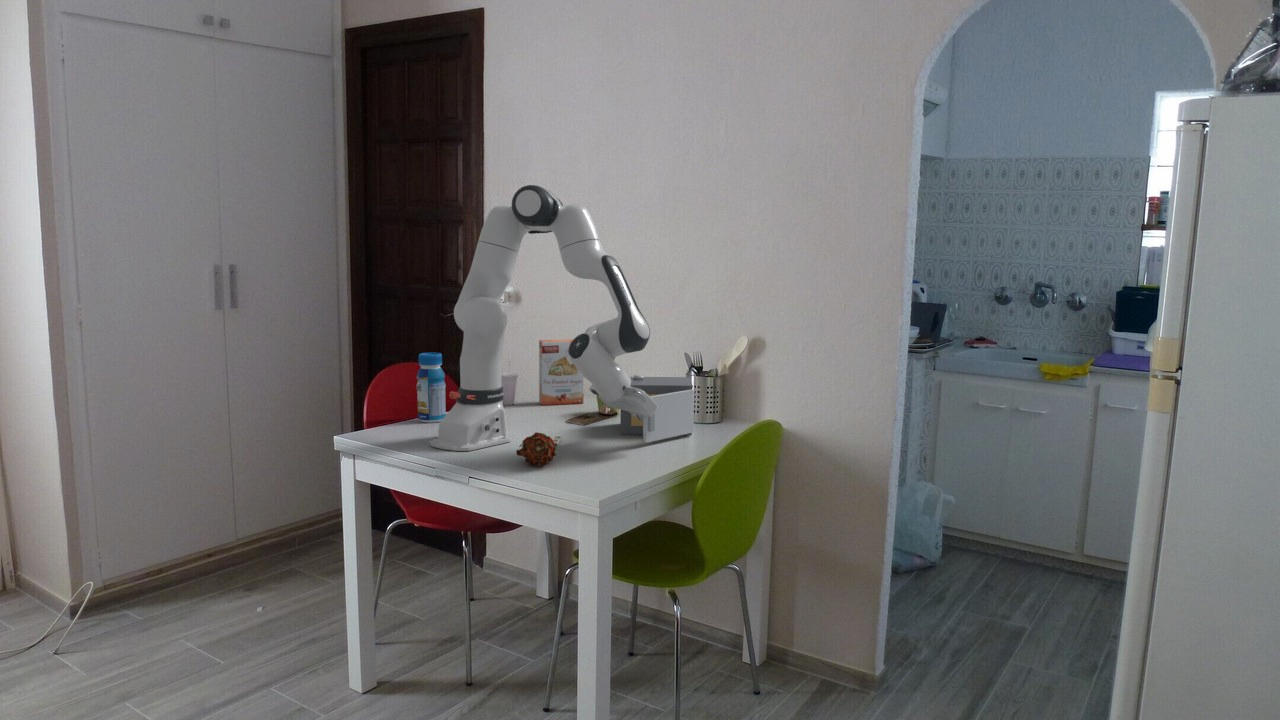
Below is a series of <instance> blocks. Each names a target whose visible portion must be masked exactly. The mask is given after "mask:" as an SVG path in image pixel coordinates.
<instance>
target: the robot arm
mask: <svg viewBox="0 0 1280 720" xmlns="http://www.w3.org/2000/svg"><path fill="white" fill-rule="evenodd" d="M527 233H528V234H530V235H533V234H548V233H553V235H554V237H555V238H556V241H557V245H558V248H559V253H560V257H561V261H562V264H563V266H564V268H565V270H566V271H567V272H568V273H569V274H570V275H572V276H574V277H576V278H579V279H584V280H594V281H598V282H601V283H603V284H604V286H605V287H606V288H607V290H608V292H609V295H610V297H611V299H612V302H613V303H614V306H615V309H616V311H617V317H615V318H611V319H608V320H606V321H602V322H598V323H596V324H593V325H591V326H590V327H588V328H587V329H586V330H585V332H584V333H580V334H578V335H577V336H576V337H574V338H573V339H574V340H573V341H572V342H571V344H570V346H569V349H568V354H569V357H570V359H571V361H572V362H573V364H574V366H575V367H576V368H577V369H578V371H579V372H580V373H581V374H582V375H583V377H584V379H586V380H587V381H589V383H590V384H591V385H590V386H589V389H588V390H589V391H590V392H591V394H593V395H597V396H598V397H599V398H600V399H601V400H602V401H603V402H604V403H605V404H606V405H608V406H610V407H613V408H617V409H619V410H620V411H621V410H625V411H628V412H629V413H631V414H632V415H634V416H635V417H636V418H637V419H638V420H642V421H643V415H644V416H648V417H651V416H652V415H653V414H654V413H655V412H656V410H657V409H658V406H657V404H656V403H655V402H654V401H653V400H652V399H651V398H650V397H649V396H648V395H647V394H646V393H645V392H644V391H643V390H641V389H638V388H633V387H631V386H630V385H631V379H630V377H631V376H629V375H628V373H627V372H625V370H624V369H623V368H622V367H621V366H620V364H618V363H616V361H615V359H616V357H619V356H622V355H625V354H631V353H636V352H640V351H643V350H644V349H645V348H646V347H647V344H648V342H649V340H650V336H651V328H650V326H649V324H648V322H647V320H646V318H645V317H644V315H643V314H642V312H641V310H640V308H639V306H638V304H637V301H636V299H635V297H634V295H633V292H632V290H631V288H630V285H629V283H628V281H627V279H626V276H625V273H624V272H623V269H622V268H621V266H620V264H619V262H618V261H617V259H616V258H615V257H614V256H612V255H608V254H607V252H606V251H605V249H604V247H603V245H602V242H601V239H600V235H599V232H598V230H597V227H596V224H595V222H594V220H593V217H592V215H591V213H590V211H589V210H588V208H587V207H585V206H584V205H581V204H577V203H572V204H567V205H564V204H563V203H562V201H561V200H560V199H559V198H558V197H557V196H556V195H555V194H554V193H553V192H552V191H550V190H548V189H546V188H543V187H542V186H539V185H535V184H528V185H524V186H521V187H520V188H518V189H517V191H516V192H515V193H514V195H513V197H512V200H511V206H508V205H497V206H494V207H493V208H492V209H491V210H489V213H488V215H487V216H486V219H485V220H484V223H483V226H482V228H481V231H480V234H479V237H478V241H477V244H476V248H475V252H474V255H473V259H472V263H471V267H470V268H469V269H470V270H469V271H468V272H469V273H468V275H467V277H466V280H465V281H464V284H463V286H462V289H461V291H460V294H459V296H458V300H457V302H456V304H455V306H454V309H453V318H454V321H455V323H456V325H457V327H458V328H459V329H460V330H461V331H462V332H463V340H462V349H461V352H460V357H459V375H460V376H459V377H460V378H459V379H460V387H459V388H458V390H457V391H454V390H452V391H450V392H449V398H450V399H452V400H455V402H456V403H455V404H454V405H453V406H452V407H451V409H450V410H449V411H448V413H446V416H445V417H444V418H443V419H442V420H441V422H439V424H438V425H439V426H438V436H437V437H436V438H434V439H432V440H430V441H429V446H431V447H433V448H437V449H440V450H446V451H447V450H448V451H454V452H457V451H458V452H469V451H475V450H479V449H484V448H488V447H492V446H497V445H501V444H505V443H510V442H511V437H510V436H509V433H508V426H507V425H508V424H507V416H506V410H505V408H504V404H503V394H504V392H503V387H502V386H501V374H502V354H503V347H504V343H505V342H504V341H505V333H506V328H507V325H508V315H507V312H506V310H505V309H504V307H503V305H502V304H501V303H500V302H501V301H502V300H501V299H502V297H503V295H504V293H505V291H506V289H507V288H508V285H509V284H510V282H511V280H512V277H513V273H514V270H515V265H516V263H517V259H518V257H519V256H518V255H519V251H520V247H521V244H522V240H523V238H524V236H525V235H527ZM597 396H596V397H597Z"/></svg>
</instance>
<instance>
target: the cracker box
mask: <svg viewBox="0 0 1280 720" xmlns="http://www.w3.org/2000/svg"><path fill="white" fill-rule="evenodd" d="M538 340H539V341H538V344H539V345H538V347H539V348H538V349H539V352H538V359H539V360H538V371H539V372H538V373H539V374H538V375H539V376H538V393H539V395H538V397H539V398H538V399H539V400H538V401H539V403H540V404H541V405H542V406H549V405H551V406H552V405H553V406H554V405H555V404H556V405H573V404H572V403H583V404H584V394H585V393H584V389H585V388H584V386H585V385H584V382H585V381H584V379H585V378H584V377H583V375H582V374H581V373H580V372H579V371H578V369H577V368H576V367H575V366H574V364H573V362H572V361H571V359H570V357H569V354H568V349H569V346H570V344H571V342H572V341H573V340H574V338H571V339H568V338H567V339H538ZM556 405H555V406H556Z"/></svg>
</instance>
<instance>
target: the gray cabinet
mask: <svg viewBox="0 0 1280 720" xmlns="http://www.w3.org/2000/svg"><path fill="white" fill-rule="evenodd" d="M629 377H630V379H631V385H630V386H631V387H633V388H638V389H641V390H643V391H644V392H645V393H646V394H647V395H648V396H655V395H661V394H667V393H673V392H679V391H685V390H694V389H693V387H694V386H693V382H692V379H691V376H687V377H686V376H677V377H676V376H645V375H644V374H635V375H633V376H629ZM620 435H643V421H642V420H638V419H637V418H636V417H635V416H634V415H632V414H631V413H629V412H628V411H625V410H621V409H620ZM689 435H690V436H692V435H693V433H689V434H684V436H689Z"/></svg>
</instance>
